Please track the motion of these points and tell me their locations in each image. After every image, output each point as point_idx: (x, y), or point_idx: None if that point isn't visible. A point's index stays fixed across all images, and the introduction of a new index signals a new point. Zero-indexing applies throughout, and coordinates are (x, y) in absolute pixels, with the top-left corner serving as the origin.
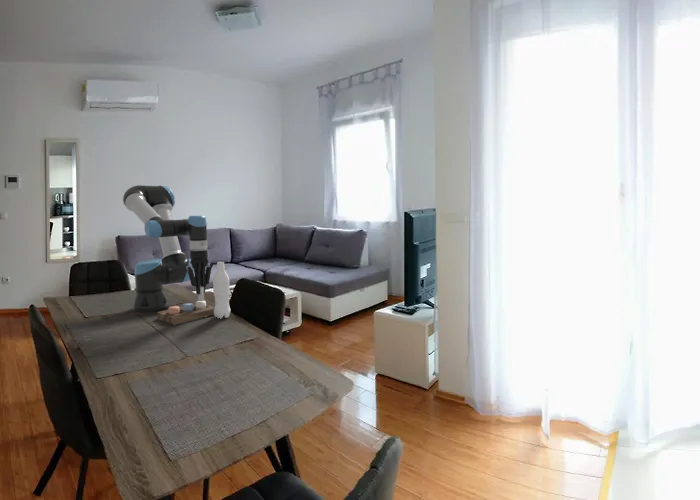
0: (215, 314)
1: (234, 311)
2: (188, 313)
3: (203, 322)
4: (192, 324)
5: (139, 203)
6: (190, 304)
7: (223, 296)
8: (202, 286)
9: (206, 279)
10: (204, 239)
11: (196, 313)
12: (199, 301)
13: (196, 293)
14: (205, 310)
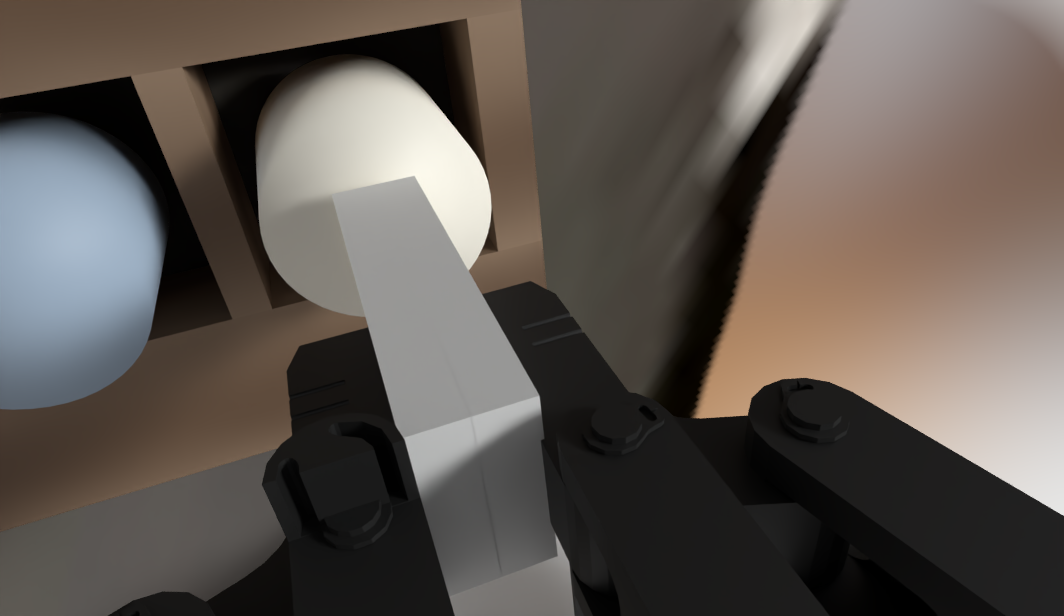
0: None
1: (724, 295)
2: (18, 471)
3: (231, 543)
4: (73, 571)
5: None
6: (83, 327)
7: None
8: (549, 521)
9: (972, 533)
10: None
11: (173, 471)
12: (366, 170)
13: (295, 356)
14: None
